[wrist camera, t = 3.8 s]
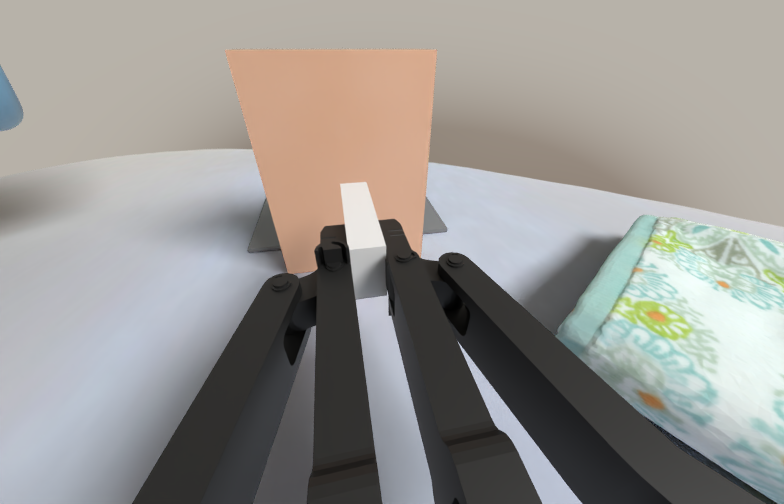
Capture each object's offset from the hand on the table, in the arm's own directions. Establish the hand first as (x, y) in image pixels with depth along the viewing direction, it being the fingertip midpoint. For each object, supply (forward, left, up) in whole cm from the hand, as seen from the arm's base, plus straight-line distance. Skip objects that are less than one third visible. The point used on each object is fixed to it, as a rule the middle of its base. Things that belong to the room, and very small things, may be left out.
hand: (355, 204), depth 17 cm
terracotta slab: (-1, +6, -9) cm, 11 cm away
